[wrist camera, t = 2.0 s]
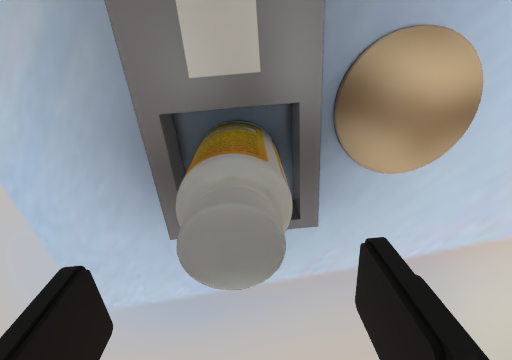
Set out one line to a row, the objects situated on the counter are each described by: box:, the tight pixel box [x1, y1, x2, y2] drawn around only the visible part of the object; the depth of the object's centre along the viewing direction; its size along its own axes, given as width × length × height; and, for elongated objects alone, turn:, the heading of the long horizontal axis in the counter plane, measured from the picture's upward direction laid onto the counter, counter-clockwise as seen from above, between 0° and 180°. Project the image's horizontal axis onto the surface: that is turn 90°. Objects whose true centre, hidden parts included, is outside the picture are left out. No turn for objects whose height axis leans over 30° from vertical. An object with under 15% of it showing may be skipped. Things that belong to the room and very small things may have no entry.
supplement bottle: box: [176, 121, 292, 290], centre depth 14 cm, size 5×5×10 cm
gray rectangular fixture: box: [105, 0, 325, 240], centre depth 15 cm, size 16×10×3 cm, turn 4°
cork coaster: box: [334, 25, 483, 173], centre depth 17 cm, size 9×9×1 cm
